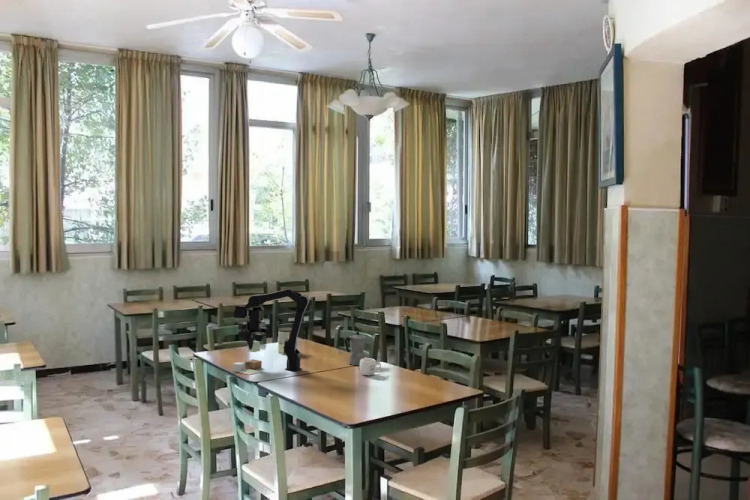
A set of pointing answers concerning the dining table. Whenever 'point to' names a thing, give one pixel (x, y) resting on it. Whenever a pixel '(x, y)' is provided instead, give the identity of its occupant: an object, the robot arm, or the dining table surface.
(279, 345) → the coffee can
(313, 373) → the dining table surface
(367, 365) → the mug
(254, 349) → the sage block
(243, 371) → the swatch tile
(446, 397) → the dining table surface
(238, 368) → the grey block
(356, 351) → the coffeepot
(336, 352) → the dining table surface
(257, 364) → the walnut block
